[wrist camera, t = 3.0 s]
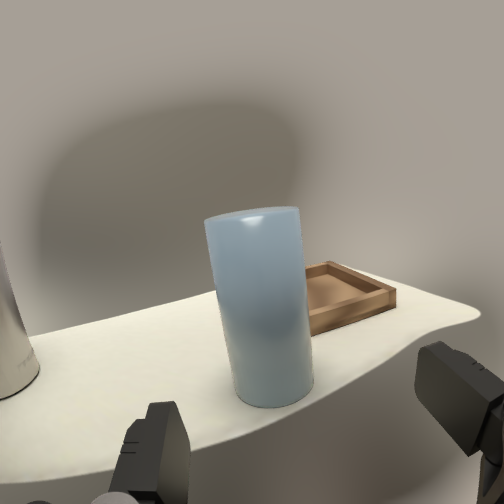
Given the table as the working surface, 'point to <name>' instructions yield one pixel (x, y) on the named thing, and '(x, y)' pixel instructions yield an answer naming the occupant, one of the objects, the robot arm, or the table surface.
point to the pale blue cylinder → (263, 303)
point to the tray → (343, 296)
